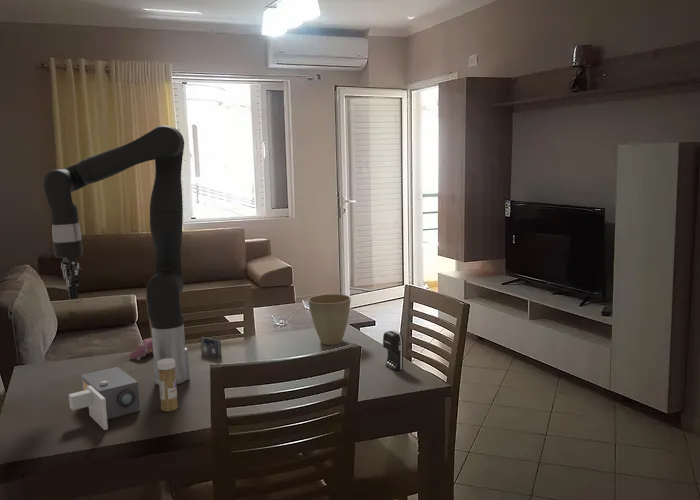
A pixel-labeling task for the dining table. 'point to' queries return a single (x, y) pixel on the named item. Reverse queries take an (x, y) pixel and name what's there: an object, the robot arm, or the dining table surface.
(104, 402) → the side cover
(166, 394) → the sprinkles bottle
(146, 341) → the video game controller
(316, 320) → the plant pot
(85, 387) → the box
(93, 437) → the dining table surface
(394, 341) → the battery charger
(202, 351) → the mini dv tape
